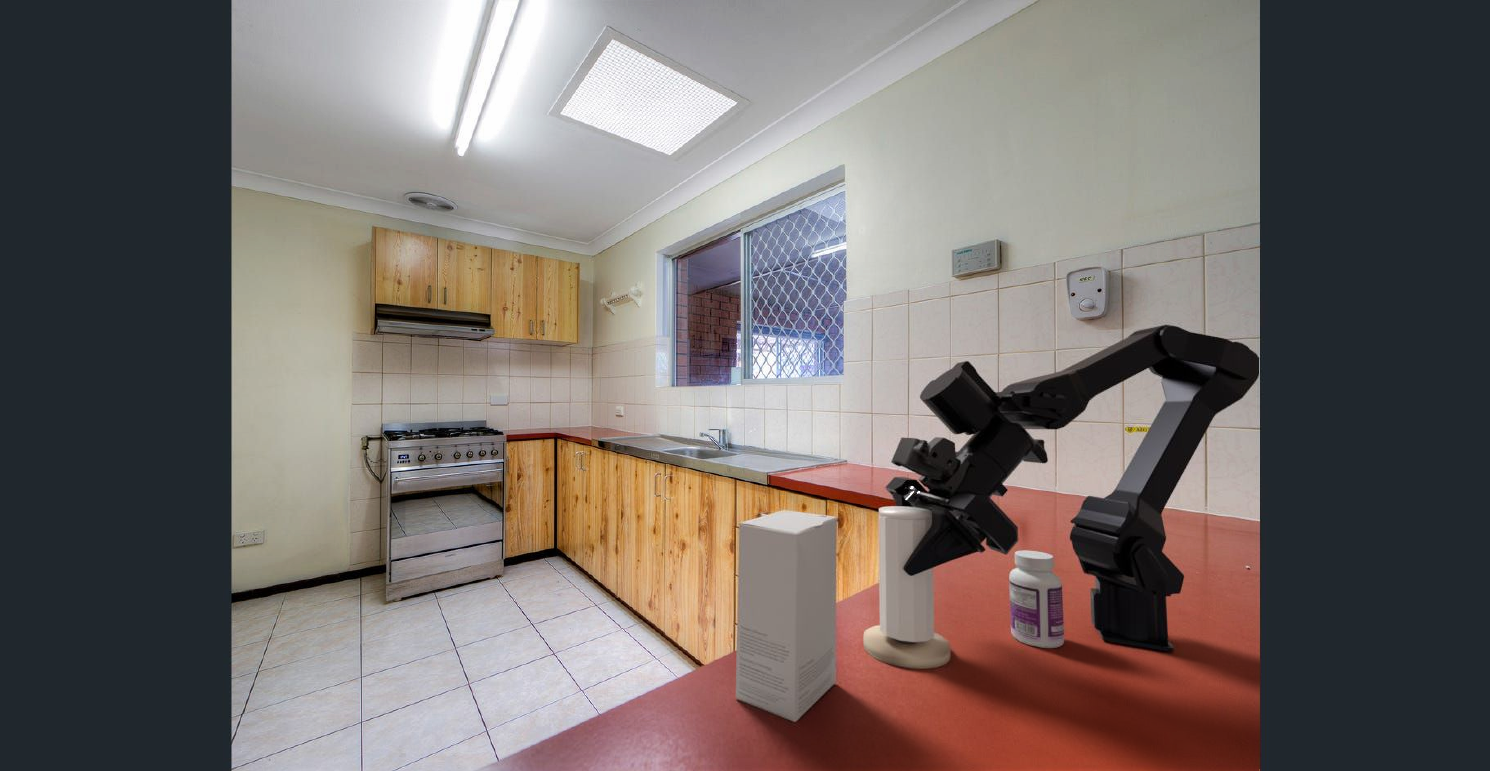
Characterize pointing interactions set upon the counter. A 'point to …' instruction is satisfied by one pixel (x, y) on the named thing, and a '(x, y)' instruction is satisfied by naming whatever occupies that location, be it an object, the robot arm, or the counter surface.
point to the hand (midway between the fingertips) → (893, 564)
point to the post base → (907, 650)
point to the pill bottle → (1036, 600)
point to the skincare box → (786, 611)
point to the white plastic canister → (904, 575)
